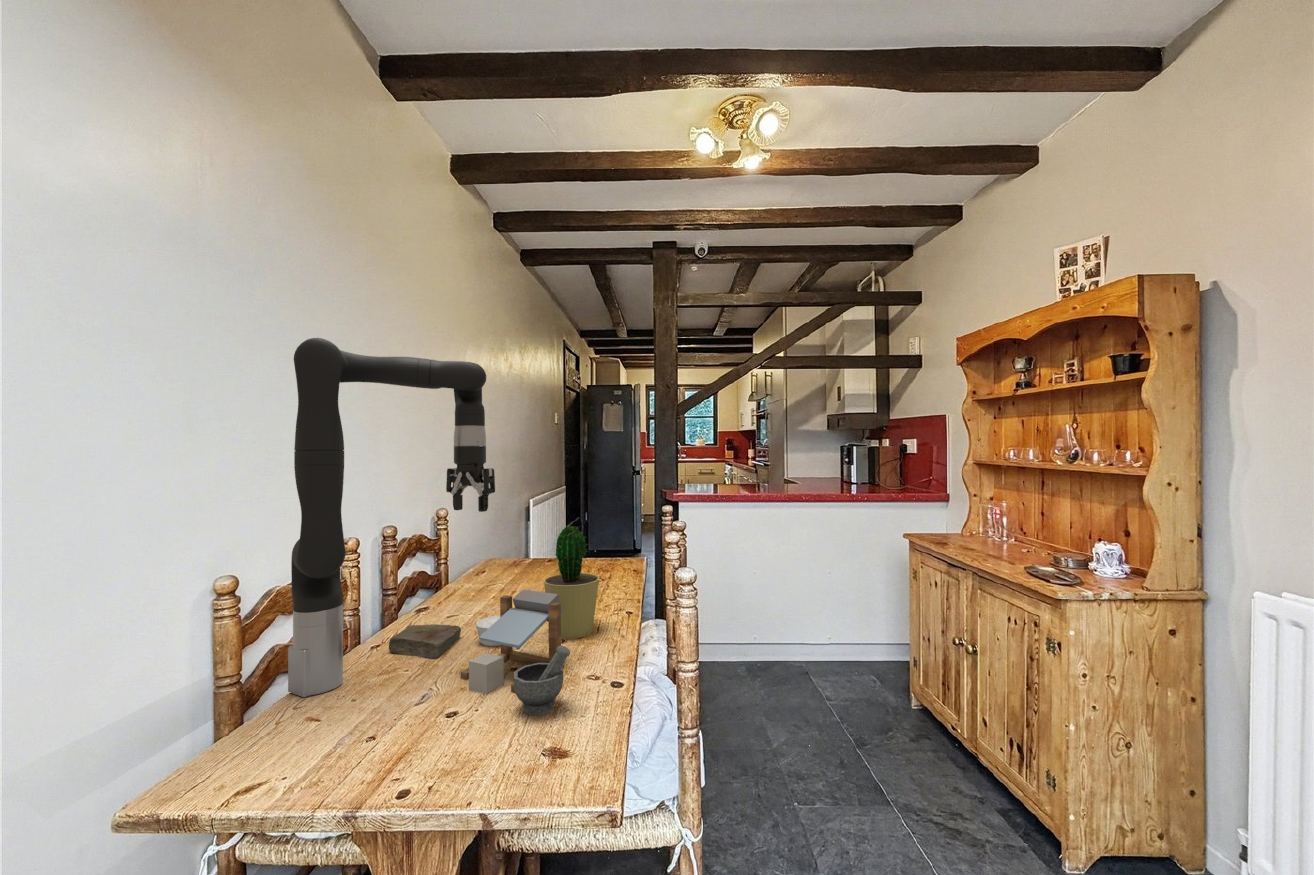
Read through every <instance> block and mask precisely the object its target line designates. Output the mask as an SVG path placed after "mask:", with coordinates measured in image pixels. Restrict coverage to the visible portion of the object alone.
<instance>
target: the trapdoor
mask: <svg viewBox="0 0 1314 875" xmlns="http://www.w3.org/2000/svg"><path fill="white" fill-rule="evenodd" d="M554 602H555V603H560V599H559V596H558V594H552V593H545V591H536V590H530V589H525V588H524V589H522V590H521V591H520V592H519V593H517V594H516V595H515V596H514V597H512V603H513V606H514V607H512V608H510V609H509V610H508V611H507V612H506V613H505V614H504V615H503V616H502V617H500V618H499V619H498V620H497V621H496V622H495V623H494V624H493V625H492V626H491V627H489V628H488V629H487V630H486V631H485V632H484V633H483V634H482V635H481V636H479V635H478V639H479V641H480V640H481V641H486V642H491V643H495V644H500V645H505V646H510V647H513V648H515V649H521V648H522V647H523V646H524V645H525V644H526V643H527V642H528V641H529V640H530V639H531V638H532V637H533V636H534V634H536V633H537V632H538V631H539V630H540V629H541V627H543V625H544V624H546V623H547V622H548V623H549V619H548V605H549V604H551V603H554ZM562 613H563V610H562V607H561V614H562Z"/></svg>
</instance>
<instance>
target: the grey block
mask: <svg viewBox="0 0 1314 875" xmlns="http://www.w3.org/2000/svg"><path fill="white" fill-rule="evenodd" d="M504 665H505V664H504V662H503V657H502V656H498V654H493V653H489V652H488V653H487V652H485V653H484V654H481V655H480V656H478V657H475V658H473V659H470V660H468V668H469V679H468V690H469V691H473V692H478V693H482V694H485V695H488V694H489V693H491V692H492V691H494V690H496V689H498V688H500V687H502V686H503V685H504V682H505V681H504V677H505V675H504V673H505V672H504V671H505V670H504Z"/></svg>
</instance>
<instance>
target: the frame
mask: <svg viewBox="0 0 1314 875" xmlns="http://www.w3.org/2000/svg"><path fill="white" fill-rule="evenodd" d="M499 600H500V601H499V604H500V605H499V606H500V607H499V610H500V614H499V615H500V617H502V616H503V615H504V614H505V613H506V612H507V611H508V610H509V609H510V608H513V596H512V595H507V594H506V595H502V596H500V599H499ZM548 619H549V622H548V657H546V656H541V655H537V654H536V655H535V654H532V653H528V652H523V651H517V650H514V649H513V648H514V647H510V646H505V645H501V646H500V652H499V654H497V655H498V656H502V657H503V663H505V662H508V661H514V662H516V663H517V662H518V663H521V664H525V665H526V664H527V665H531V664H535V663H550V661H551V660H552V658H553V657H554V655H555V653H556V652H557V647H558V646H562V639H561V603H555V602H554V603H551V604H549V605H548ZM564 664H565V663H564ZM564 664H563V666H562V668H563V669H564V666H565V665H564ZM460 679H462V680H466V681H469V667H467V668H465V669H463V670H461V671H460ZM510 692H511V693H512V692H513V693H515V689H514V682H513V683H511V684H510Z"/></svg>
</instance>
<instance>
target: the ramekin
mask: <svg viewBox="0 0 1314 875" xmlns="http://www.w3.org/2000/svg"><path fill="white" fill-rule="evenodd" d="M499 618H500V614H499V615H492V616H487V617H484V618H482V619H480V620H478V621H477V622H476V624H475V628H476V629H477V635H478V637H479V636H481V635H482V634H483V633H484V632H485V631H486V630H487V629H488V628H489V627H491V626H492V625H493V624H494V623H495V622H496V621H497V620H498V619H499ZM479 642H480V644H482V645H483V646H486V647H501V645H500V644H495V643H491V642H486V641H481V640H479Z"/></svg>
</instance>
